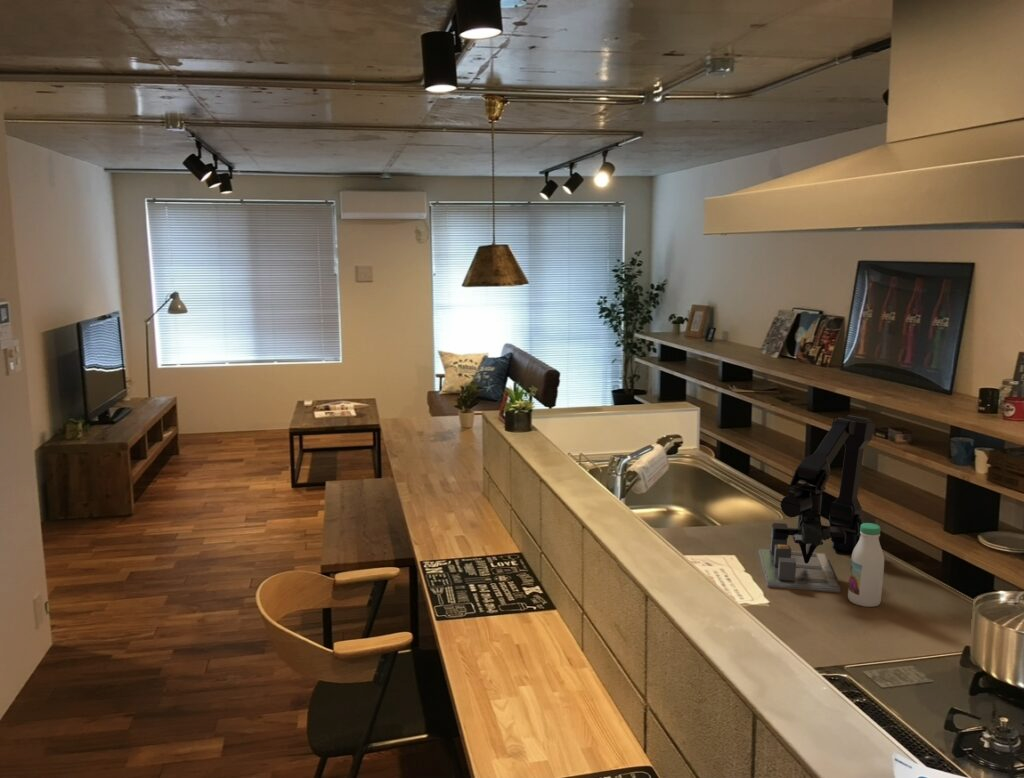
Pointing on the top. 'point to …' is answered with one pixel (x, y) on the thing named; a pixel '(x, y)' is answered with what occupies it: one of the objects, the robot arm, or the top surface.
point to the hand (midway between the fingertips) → (806, 562)
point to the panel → (801, 572)
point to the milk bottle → (866, 568)
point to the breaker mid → (781, 553)
